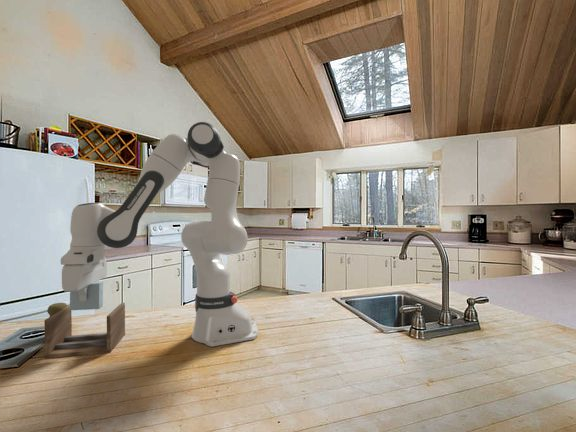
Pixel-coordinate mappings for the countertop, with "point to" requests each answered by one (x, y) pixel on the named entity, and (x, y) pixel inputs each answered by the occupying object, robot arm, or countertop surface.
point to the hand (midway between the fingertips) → (86, 298)
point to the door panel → (93, 298)
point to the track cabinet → (65, 344)
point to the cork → (56, 308)
